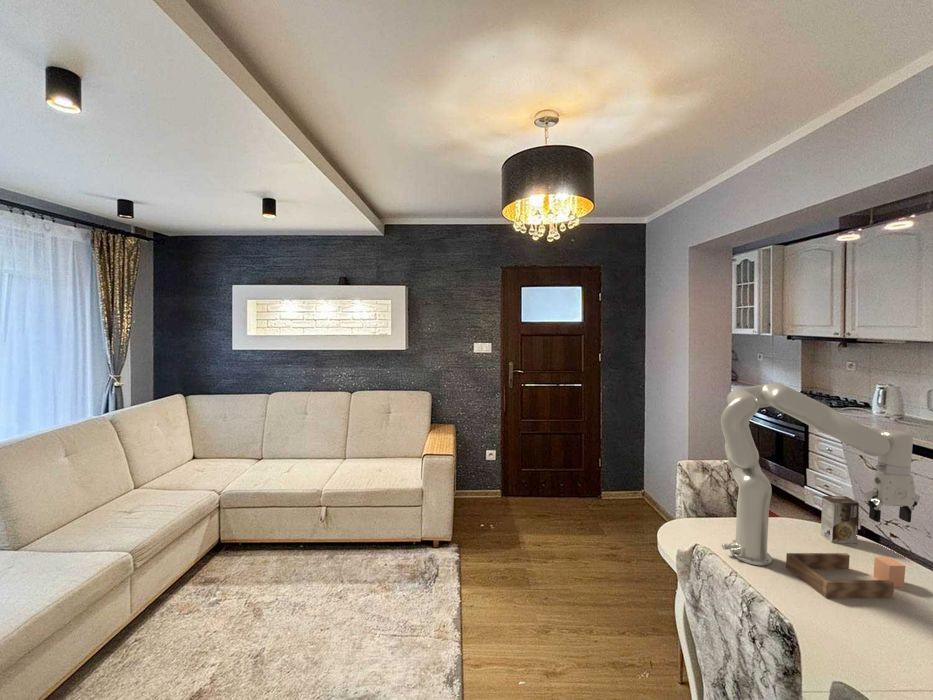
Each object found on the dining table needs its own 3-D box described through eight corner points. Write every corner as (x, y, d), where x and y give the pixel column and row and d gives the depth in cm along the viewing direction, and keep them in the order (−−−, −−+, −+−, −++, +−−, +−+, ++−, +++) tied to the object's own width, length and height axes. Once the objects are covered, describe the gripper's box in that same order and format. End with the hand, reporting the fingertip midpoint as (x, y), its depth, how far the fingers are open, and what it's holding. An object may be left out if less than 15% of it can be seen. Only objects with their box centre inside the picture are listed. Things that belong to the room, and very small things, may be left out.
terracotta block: (888, 586, 135) (889, 565, 135) (873, 577, 140) (874, 557, 140) (903, 586, 135) (905, 565, 135) (888, 577, 140) (889, 557, 140)
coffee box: (844, 535, 168) (846, 496, 166) (857, 544, 161) (860, 503, 160) (819, 534, 168) (821, 495, 167) (831, 543, 162) (834, 502, 161)
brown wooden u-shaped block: (825, 598, 130) (826, 582, 130) (785, 567, 146) (786, 553, 146) (893, 598, 130) (894, 582, 129) (845, 567, 146) (846, 553, 146)
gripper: (877, 472, 132) (873, 525, 134) (933, 473, 132) (929, 526, 133) (855, 464, 140) (852, 514, 141) (908, 465, 140) (904, 515, 141)
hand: (889, 520), depth 137 cm, fingers open, 9 cm apart
